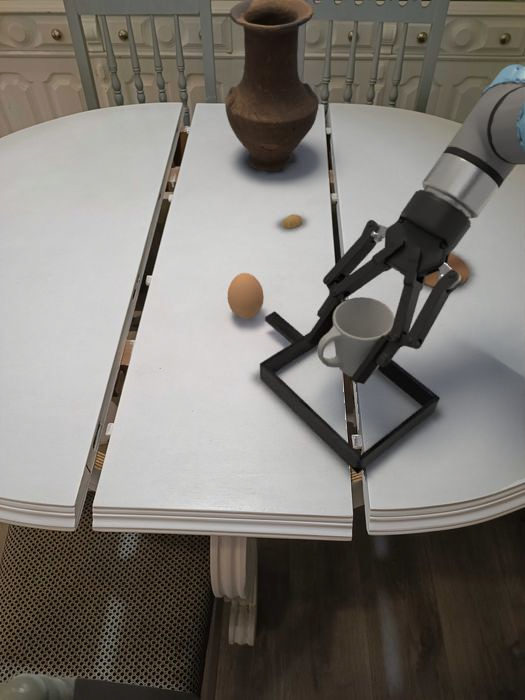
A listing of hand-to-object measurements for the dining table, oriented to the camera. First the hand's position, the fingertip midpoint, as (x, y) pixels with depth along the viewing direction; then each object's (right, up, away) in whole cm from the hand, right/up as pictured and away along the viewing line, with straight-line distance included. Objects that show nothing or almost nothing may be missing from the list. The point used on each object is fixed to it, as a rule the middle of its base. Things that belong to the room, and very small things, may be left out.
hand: (333, 361), depth 67 cm
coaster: (+22, +16, +27) cm, 38 cm away
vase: (-7, +44, +52) cm, 69 cm away
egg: (-12, +7, +20) cm, 25 cm away
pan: (+1, -3, +11) cm, 11 cm away
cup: (+3, -1, +4) cm, 5 cm away
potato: (-3, +26, +37) cm, 45 cm away
